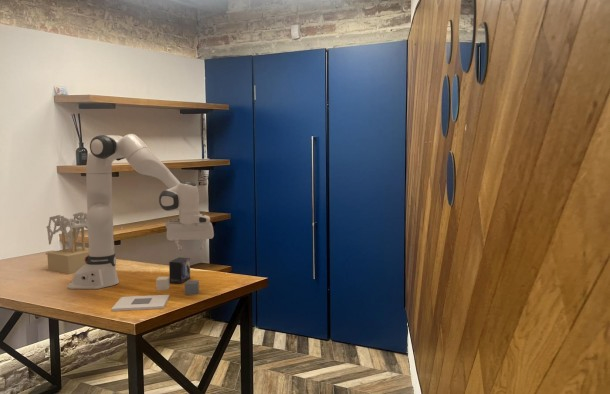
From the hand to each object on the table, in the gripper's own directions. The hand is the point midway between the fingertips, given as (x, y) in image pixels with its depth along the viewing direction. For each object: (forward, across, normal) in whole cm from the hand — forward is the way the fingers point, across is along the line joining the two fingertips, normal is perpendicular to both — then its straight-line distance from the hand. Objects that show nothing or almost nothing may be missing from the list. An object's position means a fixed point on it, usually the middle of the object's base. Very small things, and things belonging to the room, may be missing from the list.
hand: (191, 249), depth 216 cm
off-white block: (+20, -14, +9) cm, 26 cm away
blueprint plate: (+19, -19, -13) cm, 30 cm away
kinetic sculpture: (+19, -69, +57) cm, 92 cm away
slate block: (+20, 0, 0) cm, 20 cm away
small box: (+20, -8, +22) cm, 31 cm away
